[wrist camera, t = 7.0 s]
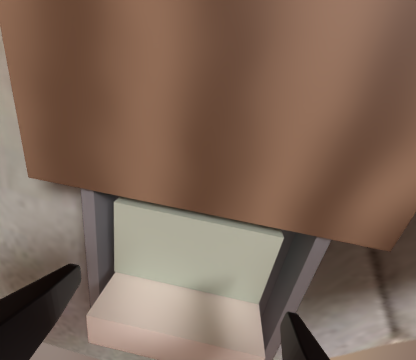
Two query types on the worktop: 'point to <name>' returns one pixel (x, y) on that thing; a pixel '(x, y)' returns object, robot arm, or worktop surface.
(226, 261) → the sage tile
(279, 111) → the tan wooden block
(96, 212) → the box
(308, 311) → the worktop surface
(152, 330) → the cream tile
